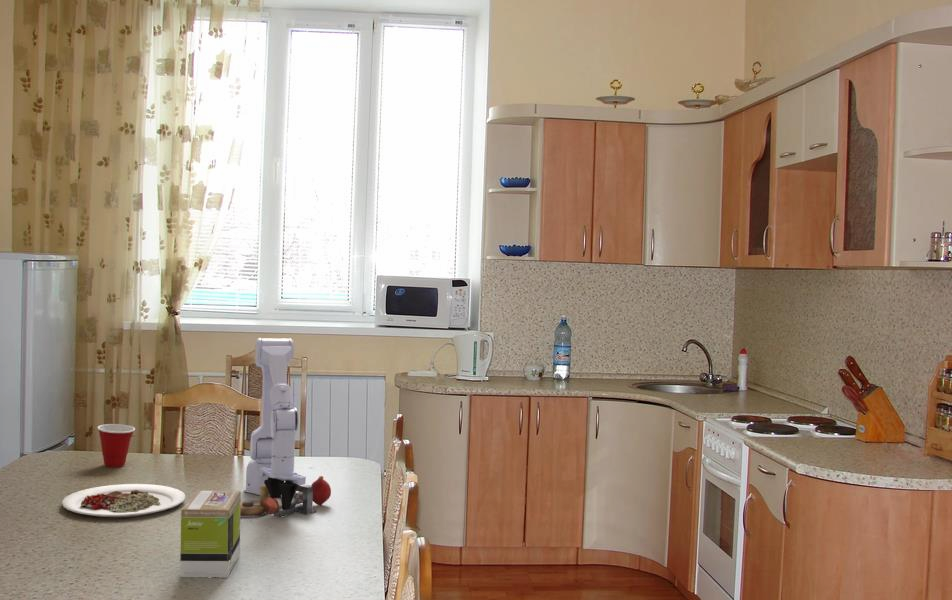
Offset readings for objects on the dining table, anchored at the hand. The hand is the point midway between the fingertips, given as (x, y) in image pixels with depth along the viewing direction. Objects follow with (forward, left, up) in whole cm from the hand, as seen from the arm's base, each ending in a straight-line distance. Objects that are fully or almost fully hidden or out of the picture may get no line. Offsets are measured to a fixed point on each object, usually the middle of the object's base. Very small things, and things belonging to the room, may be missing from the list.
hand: (281, 507), depth 234 cm
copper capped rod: (0, +2, -1) cm, 3 cm away
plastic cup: (-75, +4, -2) cm, 75 cm away
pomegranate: (+1, +13, -2) cm, 14 cm away
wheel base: (-9, -3, -2) cm, 10 cm away
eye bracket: (0, +3, -2) cm, 4 cm away
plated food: (-37, -20, -2) cm, 42 cm away
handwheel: (-9, -3, -2) cm, 10 cm away
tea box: (+16, -37, -2) cm, 40 cm away
